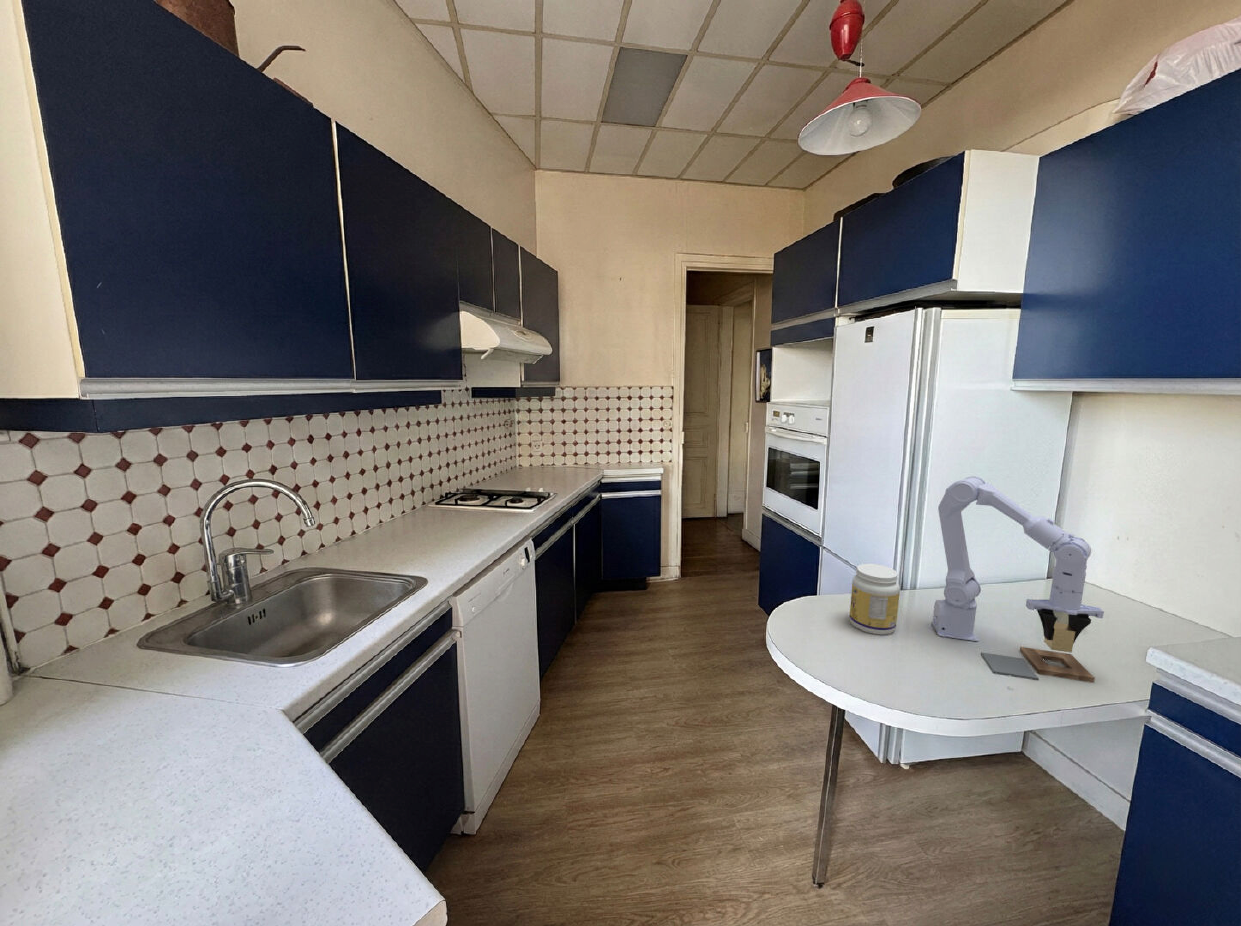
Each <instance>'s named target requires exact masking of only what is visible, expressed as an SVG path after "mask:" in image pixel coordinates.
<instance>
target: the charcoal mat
mask: <svg viewBox="0 0 1241 926" xmlns="http://www.w3.org/2000/svg"><path fill="white" fill-rule="evenodd" d="M980 655H981V656H982V658H983V660H984V661H985V663H986V664H987V666H988V667H989V670H991V672H992V673H993V674H997V675H1003V676H1009V675H1011V676H1010V677H1015V678H1023V679H1029V680H1035V681H1039V677H1038V676H1037V675H1036V673H1035V672H1034V671H1033V669H1032V668H1031V667H1030V665H1028V663H1027V662H1026V661H1025V659H1024V658H1023V657H1017V656H1009V655H1002V654H997V653H996V654H995V653H990V652H984V651H983V652H982V651H981V652H980Z"/></svg>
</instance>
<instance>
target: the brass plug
mask: <svg viewBox="0 0 1241 926" xmlns="http://www.w3.org/2000/svg"><path fill="white" fill-rule="evenodd" d="M1074 636H1075V631H1074V630H1073V629H1072V628H1071V627H1070V626H1069V625H1067V624H1064V623H1056V622H1055V625H1054V628H1053V634H1052V638H1051V640H1047V639H1046V638H1045V637H1044V639H1043V643H1045V645H1046V646H1047V647H1048V648H1049V649H1050V651H1051V650H1052V651H1056V652H1063V653H1070V654H1072V653H1073V647H1074V643H1075V642H1074ZM1073 642H1074V643H1073Z"/></svg>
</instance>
